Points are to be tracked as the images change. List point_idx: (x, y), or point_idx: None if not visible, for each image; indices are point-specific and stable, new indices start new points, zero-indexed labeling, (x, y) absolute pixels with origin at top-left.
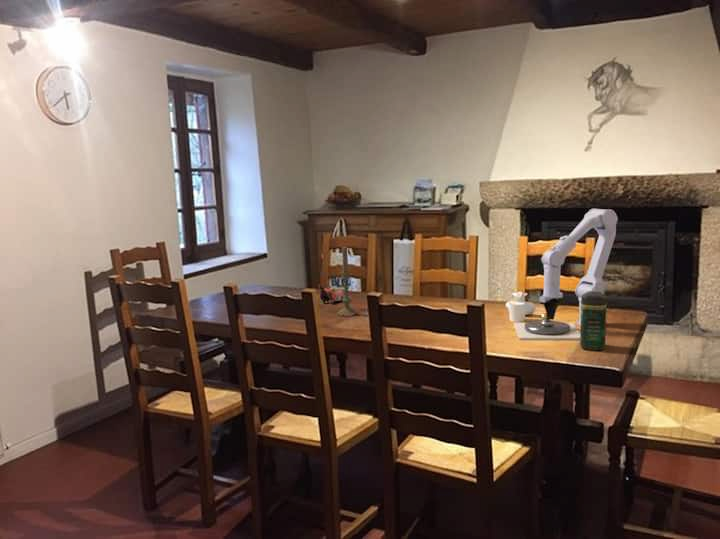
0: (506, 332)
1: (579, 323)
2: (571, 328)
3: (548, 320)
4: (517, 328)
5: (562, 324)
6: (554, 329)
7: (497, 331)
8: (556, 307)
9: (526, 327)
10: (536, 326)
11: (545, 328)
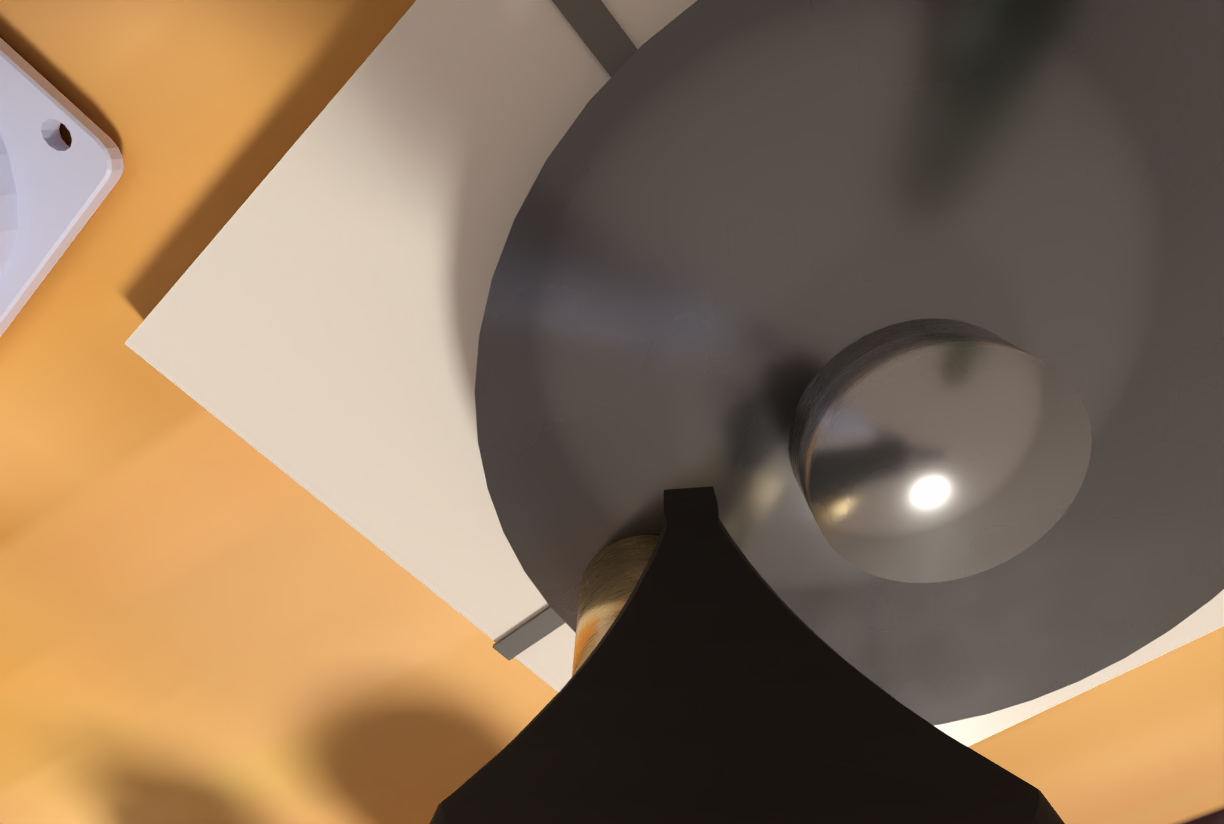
0: (1143, 722)
1: (19, 258)
2: (483, 125)
3: (841, 503)
4: (1006, 712)
5: (643, 259)
6: (1208, 123)
7: (1136, 797)
8: (644, 668)
9: (1185, 607)
10: (1082, 525)
11: (1180, 328)
